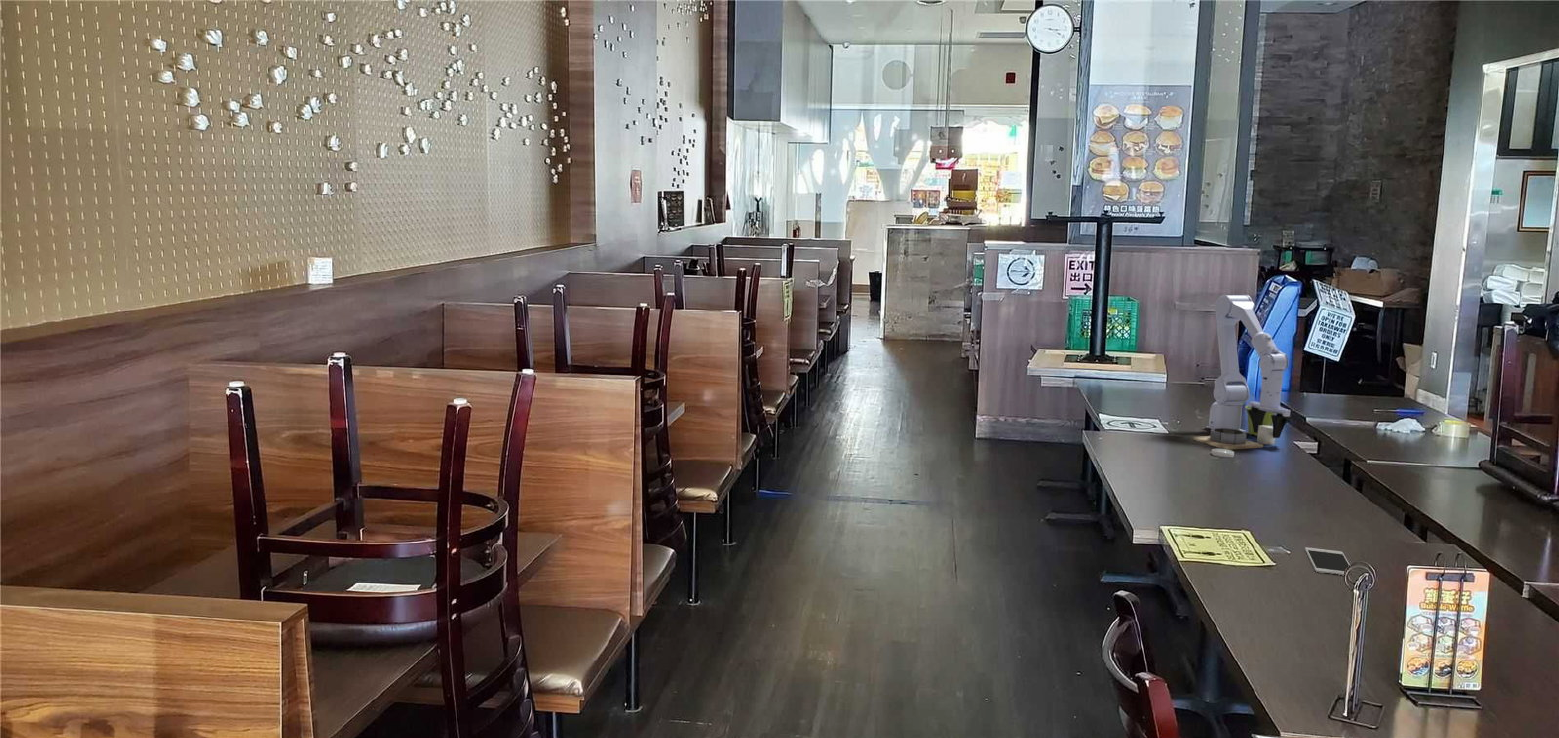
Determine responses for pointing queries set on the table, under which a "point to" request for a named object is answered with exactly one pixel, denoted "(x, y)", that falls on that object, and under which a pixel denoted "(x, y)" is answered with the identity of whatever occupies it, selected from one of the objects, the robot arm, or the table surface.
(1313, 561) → the smartphone
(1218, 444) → the mount plate
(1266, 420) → the plant pot
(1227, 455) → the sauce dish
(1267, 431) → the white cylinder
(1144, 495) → the table surface
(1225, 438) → the lens ring
